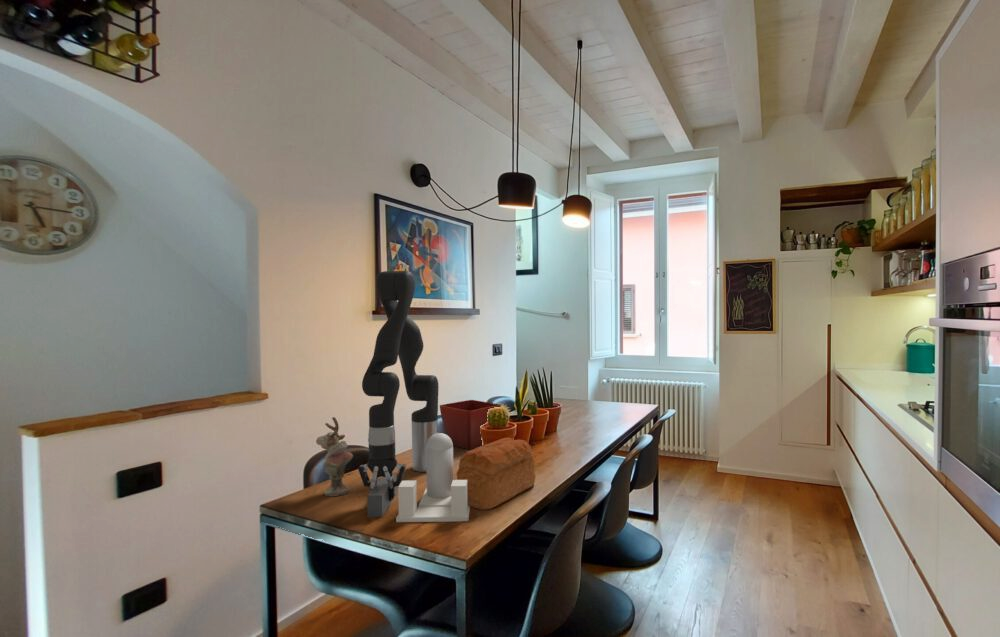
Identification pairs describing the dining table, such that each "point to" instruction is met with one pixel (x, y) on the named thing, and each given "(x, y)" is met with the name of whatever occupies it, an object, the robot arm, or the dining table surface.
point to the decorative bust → (335, 459)
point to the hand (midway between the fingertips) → (382, 500)
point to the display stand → (435, 488)
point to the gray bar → (379, 498)
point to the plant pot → (465, 421)
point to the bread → (497, 472)
